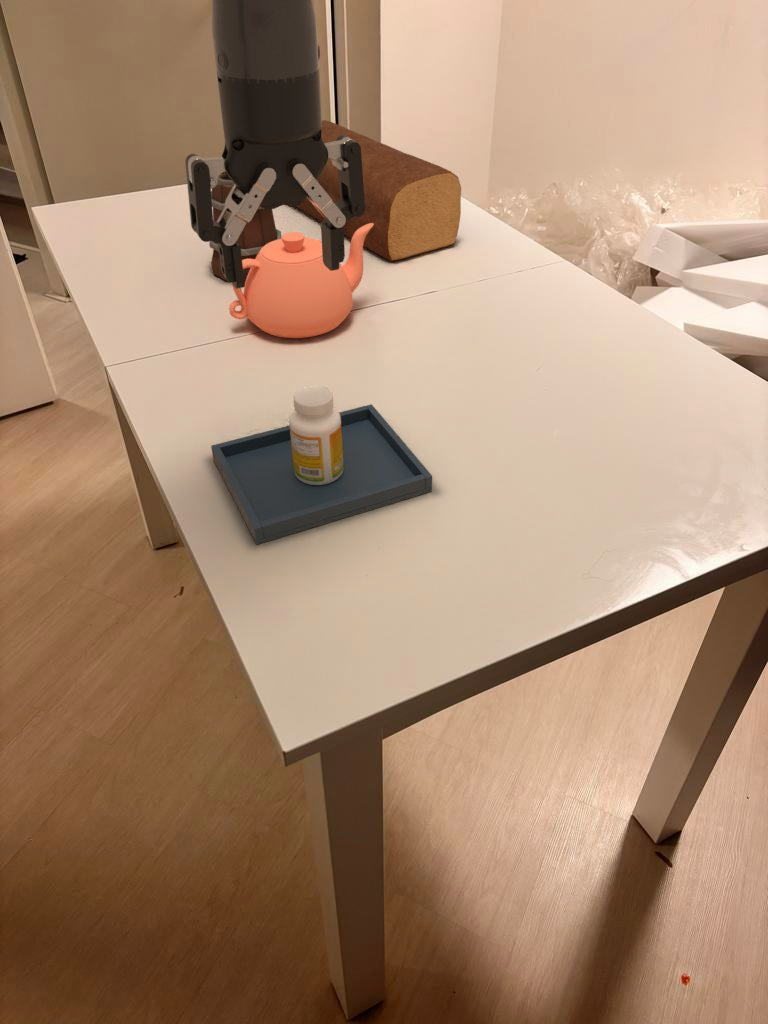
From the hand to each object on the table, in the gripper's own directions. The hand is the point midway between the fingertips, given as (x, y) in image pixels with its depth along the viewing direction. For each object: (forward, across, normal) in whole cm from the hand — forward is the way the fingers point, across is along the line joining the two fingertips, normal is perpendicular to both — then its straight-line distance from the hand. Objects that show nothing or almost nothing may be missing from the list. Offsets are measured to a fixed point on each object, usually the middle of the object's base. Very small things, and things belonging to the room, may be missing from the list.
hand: (285, 275), depth 69 cm
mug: (+24, -13, -62) cm, 68 cm away
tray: (+25, -3, -3) cm, 25 cm away
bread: (+24, -38, -71) cm, 84 cm away
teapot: (+24, -15, -39) cm, 49 cm away
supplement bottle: (+24, -3, -3) cm, 25 cm away
